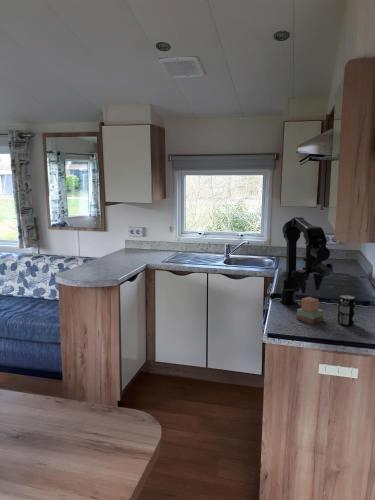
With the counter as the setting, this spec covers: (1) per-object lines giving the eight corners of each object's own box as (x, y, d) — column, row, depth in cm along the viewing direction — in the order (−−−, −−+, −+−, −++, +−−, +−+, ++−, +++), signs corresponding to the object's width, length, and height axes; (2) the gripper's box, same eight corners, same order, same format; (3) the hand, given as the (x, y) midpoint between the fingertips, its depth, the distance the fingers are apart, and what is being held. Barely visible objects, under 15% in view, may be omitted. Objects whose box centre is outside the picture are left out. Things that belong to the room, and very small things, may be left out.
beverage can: (349, 321, 170) (351, 294, 168) (356, 326, 163) (358, 298, 161) (334, 321, 170) (336, 294, 168) (341, 326, 163) (343, 299, 161)
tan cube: (308, 307, 174) (309, 296, 173) (317, 310, 170) (318, 299, 169) (301, 309, 171) (301, 298, 170) (310, 312, 167) (311, 301, 166)
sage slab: (306, 311, 177) (307, 305, 177) (322, 315, 171) (323, 310, 171) (296, 314, 172) (297, 309, 171) (312, 319, 166) (313, 314, 165)
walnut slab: (307, 316, 177) (308, 311, 177) (322, 321, 171) (323, 316, 170) (296, 320, 172) (296, 314, 172) (311, 325, 166) (311, 319, 166)
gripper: (314, 261, 155) (311, 299, 157) (342, 257, 165) (339, 292, 168) (292, 257, 164) (290, 293, 166) (320, 253, 174) (318, 287, 177)
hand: (310, 291), depth 169 cm, fingers open, 9 cm apart
